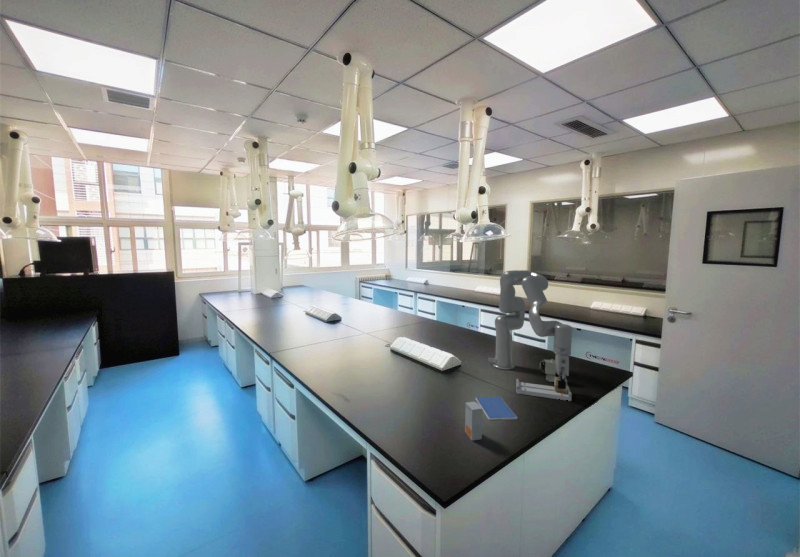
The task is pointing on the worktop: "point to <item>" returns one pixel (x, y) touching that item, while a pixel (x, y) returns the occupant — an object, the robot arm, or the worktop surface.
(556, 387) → the fader tab
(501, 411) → the tablet computer
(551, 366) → the pneumatic valve
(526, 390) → the fader track
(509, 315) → the robot arm
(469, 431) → the skincare box
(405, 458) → the worktop surface
